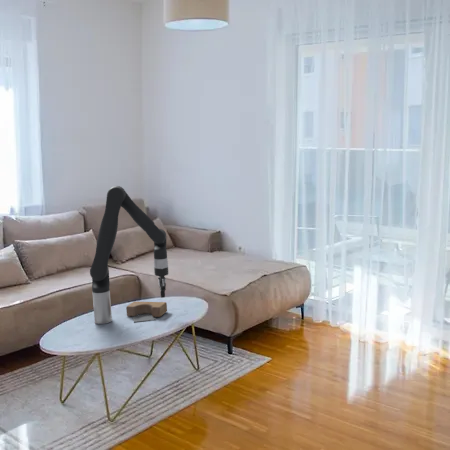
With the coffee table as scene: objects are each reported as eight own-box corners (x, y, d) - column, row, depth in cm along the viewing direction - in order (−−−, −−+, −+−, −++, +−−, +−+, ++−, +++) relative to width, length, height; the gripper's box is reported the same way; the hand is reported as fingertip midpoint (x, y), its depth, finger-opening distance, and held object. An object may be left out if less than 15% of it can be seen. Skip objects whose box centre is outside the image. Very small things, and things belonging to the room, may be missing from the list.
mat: (134, 322, 320) (134, 321, 320) (132, 316, 331) (132, 315, 331) (156, 320, 323) (156, 319, 323) (154, 313, 333) (153, 313, 333)
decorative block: (159, 307, 324) (125, 306, 329) (160, 317, 325) (126, 316, 330) (166, 301, 334) (133, 300, 340) (167, 311, 335) (134, 310, 341)
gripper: (152, 264, 326) (154, 294, 329) (155, 269, 313) (157, 301, 316) (166, 262, 328) (168, 293, 331) (169, 268, 315) (171, 299, 318)
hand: (162, 297), depth 324 cm, fingers closed
